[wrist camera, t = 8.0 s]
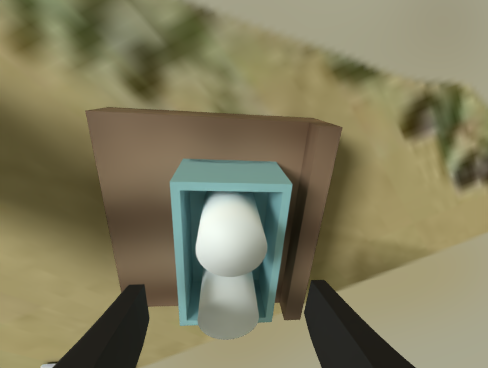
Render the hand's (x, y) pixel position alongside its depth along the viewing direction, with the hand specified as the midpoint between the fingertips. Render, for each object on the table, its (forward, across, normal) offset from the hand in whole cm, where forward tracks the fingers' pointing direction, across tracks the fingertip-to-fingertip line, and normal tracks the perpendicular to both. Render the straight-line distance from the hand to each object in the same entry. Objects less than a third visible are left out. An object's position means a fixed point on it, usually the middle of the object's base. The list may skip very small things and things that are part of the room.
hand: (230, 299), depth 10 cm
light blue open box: (+6, 0, 0) cm, 6 cm away
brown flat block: (+8, +1, 0) cm, 8 cm away
